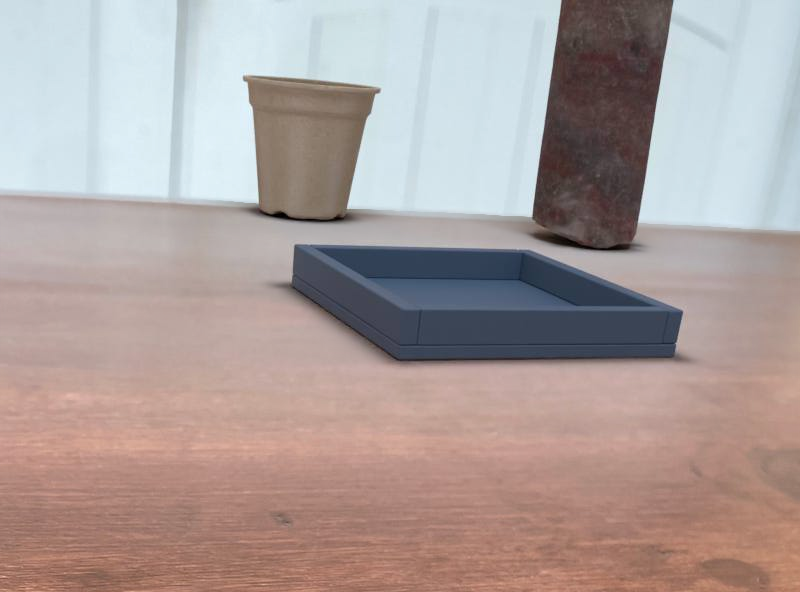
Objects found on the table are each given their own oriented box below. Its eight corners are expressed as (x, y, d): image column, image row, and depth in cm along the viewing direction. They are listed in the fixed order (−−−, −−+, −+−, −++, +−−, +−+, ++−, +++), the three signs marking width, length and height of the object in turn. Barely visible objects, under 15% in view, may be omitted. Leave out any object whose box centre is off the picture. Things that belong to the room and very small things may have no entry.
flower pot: (313, 202, 91) (322, 77, 87) (395, 223, 84) (409, 89, 80) (211, 205, 85) (215, 72, 81) (290, 227, 79) (299, 84, 75)
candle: (507, 236, 83) (555, -99, 74) (551, 227, 88) (601, -85, 79) (609, 253, 79) (673, -97, 70) (649, 244, 85) (713, -82, 76)
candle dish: (524, 288, 66) (529, 249, 65) (674, 357, 54) (684, 310, 53) (291, 285, 61) (293, 243, 60) (397, 360, 49) (403, 308, 48)
